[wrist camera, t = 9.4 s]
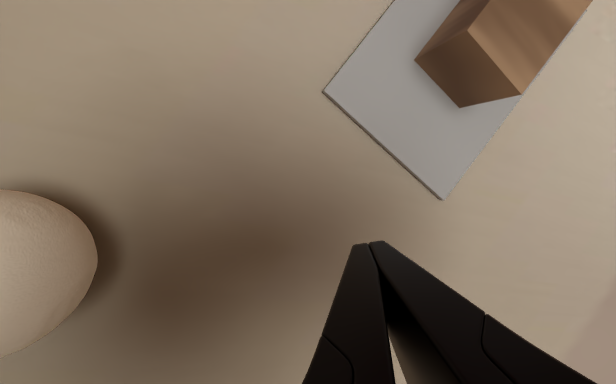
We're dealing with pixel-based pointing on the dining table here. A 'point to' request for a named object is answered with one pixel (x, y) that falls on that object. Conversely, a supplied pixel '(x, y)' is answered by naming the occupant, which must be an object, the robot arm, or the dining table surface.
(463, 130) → the rubber mat
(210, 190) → the dining table surface
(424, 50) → the walnut block
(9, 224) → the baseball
